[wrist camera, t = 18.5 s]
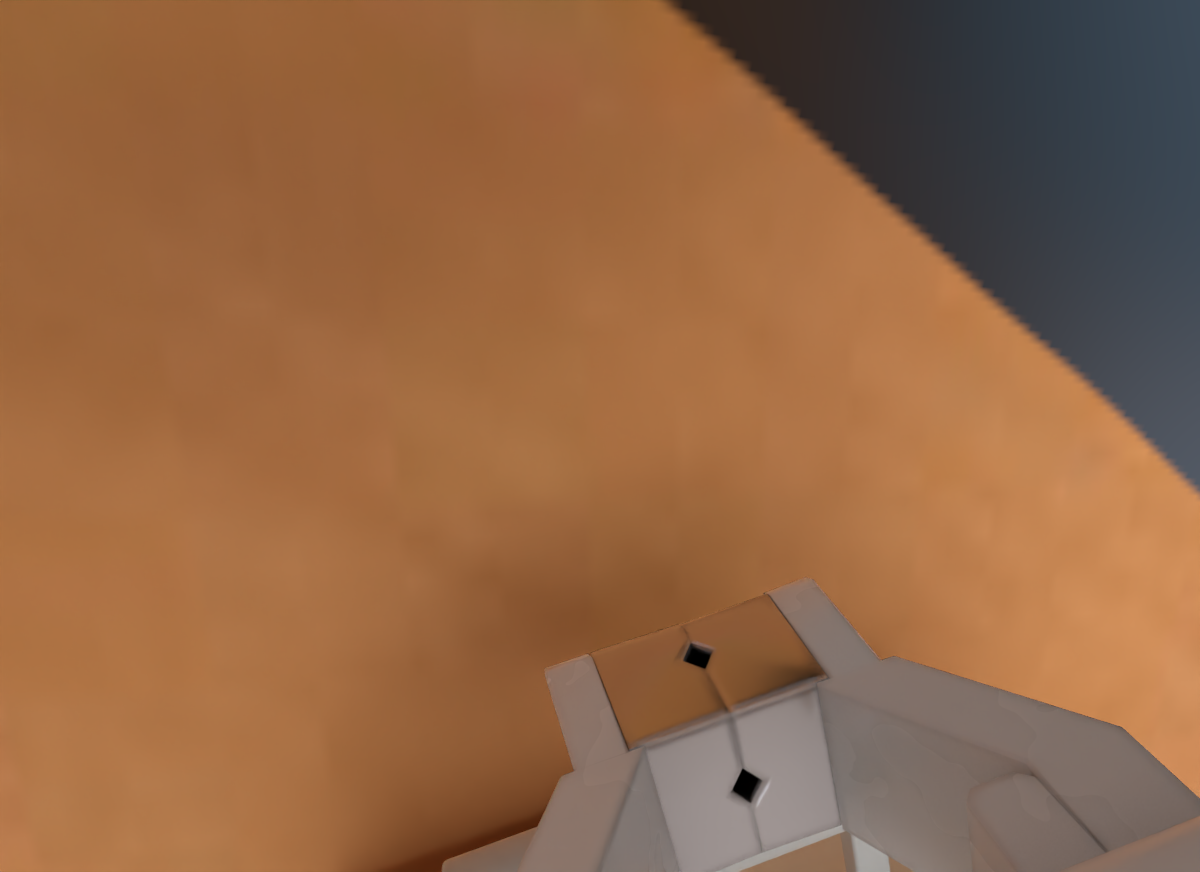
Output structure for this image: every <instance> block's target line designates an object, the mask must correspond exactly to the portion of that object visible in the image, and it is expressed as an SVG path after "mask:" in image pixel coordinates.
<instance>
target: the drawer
mask: <svg viewBox="0 0 1200 872" xmlns="http://www.w3.org/2000/svg"><path fill="white" fill-rule="evenodd" d="M536 829H537V827H535V828H532V829H530V830H527V831H524V832H521V833H519V834H516V835H513V836H510V837H508V838H505V839H502V840H499V841H497V842H494V843H491V844H488V845H486V846H483V847H480V848H477V849H475V850H472V851H469V852H466V853H464V854H461V855H458V856H455V857H453V858H450V859H447V860H445V861H444V862H443V864H442V872H517V870H518V868H519V866H520V864H521V862H522V859H523V857H524V855H525V853H526V851H527V848H528V846H529V844H530V842H531V840H532V838H533V835H534V833H535V831H536ZM716 872H914V871H912V870H911V869H909V868H907V867H906V866H904V865H902V864H900V863H899V862H897V861H895V860H894V859H892V858H890V857H889V856H887V855H885V854H884V853H882V852H880V851H879V850H877V849H875V848H874V847H872V846H870V845H869V844H867V843H865V842H864V841H862V840H860V839H858V838H857V837H855V836H853V835H852V834H850V833H848V832H847V831H845V830H843V828H842V825H841V826H838V827H835V828H832V829H829V830H826V831H823V832H820V833H818V834H815V835H812V836H809V837H806V838H803V839H800V840H797V841H795V842H792V843H789V844H786V845H783V846H780V847H777V848H774V849H772V850H769V851H766V852H763V853H760V854H758V855H755V856H753V857H750V858H748V859H746V860H743V861H741V862H738V863H736V864H733V865H731V866H729V867H726V868H724V869H721V870H719V871H716Z"/></svg>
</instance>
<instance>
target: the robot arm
mask: <svg viewBox="0 0 1200 872" xmlns="http://www.w3.org/2000/svg"><path fill="white" fill-rule="evenodd" d="M545 678H546V681H547V684H548V688H549V691H550V694H551V698H552V701H553V704H554V707H555V711H556V714H557V717H558V720H559V724H560V727H561V730H562V734H563V737H564V740H565V743H566V747H567V750H568V753H569V756H570V760H571V763H572V766H573V770H574V771H573V772H571V773H568V774H565V775H563V776H561V777H560V779H559V781H558V783H557V785H556V788H555V790H554V792H553V794H552V796H551V798H550V801H549V803H548V805H547V807H546V809H545V811H544V814H543V816H542V818H541V820H540V822H539V825H538V827H537V829H536V831H535V833H534V835H533V838H532V840H531V842H530V844H529V846H528V848H527V851H526V853H525V855H524V857H523V859H522V862H521V864H520V866H519V868H518V870H517V872H716V871H719V870H721V869H724V868H726V867H729V866H731V865H733V864H736V863H738V862H741V861H743V860H746V859H748V858H750V857H753V856H755V855H758V854H760V853H763V852H766V851H769V850H772V849H774V848H777V847H780V846H783V845H786V844H789V843H792V842H795V841H797V840H800V839H803V838H806V837H809V836H812V835H815V834H818V833H820V832H823V831H826V830H829V829H832V828H835V827H838V826H841V825H842V828H843V830H845V831H847V832H848V833H850V834H852V835H853V836H855V837H857V838H858V839H860V840H862V841H864V842H865V843H867V844H869V845H870V846H872V847H874V848H875V849H877V850H879V851H880V852H882V853H884V854H885V855H887V856H889V857H890V858H892V859H894V860H895V861H897V862H899V863H900V864H902V865H904V866H906V867H907V868H909V869H911V870H912V871H914V872H1200V798H1198V797H1197V796H1196V795H1195V794H1194V793H1193V792H1192V791H1191V790H1190V789H1189V788H1188V787H1186V786H1185V785H1184V784H1183V783H1182V782H1181V781H1180V780H1179V779H1178V778H1177V777H1176V776H1175V775H1173V774H1172V773H1171V772H1170V771H1169V770H1168V769H1167V768H1166V767H1165V766H1164V765H1163V764H1161V763H1160V762H1159V761H1158V760H1157V759H1156V758H1155V757H1154V756H1153V755H1152V754H1151V753H1150V752H1148V751H1147V750H1146V749H1145V748H1144V747H1143V746H1142V745H1141V744H1140V743H1139V742H1138V741H1136V740H1135V739H1134V738H1133V737H1132V736H1131V735H1130V734H1129V733H1128V732H1127V731H1126V730H1125V729H1123V728H1122V727H1120V726H1116V725H1113V724H1110V723H1107V722H1104V721H1100V720H1097V719H1094V718H1091V717H1088V716H1085V715H1081V714H1078V713H1075V712H1072V711H1069V710H1065V709H1062V708H1059V707H1056V706H1053V705H1049V704H1046V703H1043V702H1040V701H1037V700H1033V699H1030V698H1027V697H1024V696H1021V695H1018V694H1014V693H1011V692H1008V691H1005V690H1002V689H998V688H995V687H992V686H989V685H986V684H982V683H979V682H976V681H973V680H970V679H966V678H963V677H960V676H957V675H954V674H951V673H947V672H944V671H941V670H938V669H935V668H931V667H928V666H925V665H922V664H919V663H915V662H912V661H909V660H906V659H903V658H899V657H896V656H892V657H889V658H887V659H884V660H881V659H880V658H879V657H878V656H877V654H876V653H875V652H874V651H873V650H872V649H871V647H870V646H869V645H868V644H867V643H866V641H865V640H864V639H863V638H862V637H861V636H860V634H859V633H858V632H857V631H856V630H855V628H854V627H853V626H852V625H851V624H850V622H849V621H848V620H847V619H846V618H845V617H844V615H843V614H842V613H841V612H840V611H839V609H838V608H837V607H836V606H835V605H834V603H833V602H832V601H831V600H830V599H829V598H828V596H827V595H826V594H825V593H824V592H823V590H822V589H821V588H820V587H819V586H818V585H817V583H816V582H815V581H814V580H813V579H810V578H808V577H804V578H802V579H799V580H796V581H794V582H791V583H789V584H786V585H783V586H781V587H778V588H775V589H773V590H770V591H768V592H765V593H764V595H762V596H759V597H756V598H753V599H750V600H747V601H745V602H742V603H739V604H736V605H733V606H730V607H728V608H725V609H722V610H719V611H716V612H713V613H711V614H708V615H705V616H702V617H699V618H696V619H694V620H691V621H688V622H685V623H682V624H677V625H674V626H671V627H668V628H665V629H661V630H658V631H655V632H652V633H649V634H646V635H643V636H640V637H637V638H634V639H631V640H627V641H624V642H621V643H618V644H615V645H612V646H609V647H606V648H603V649H600V650H597V651H593V652H591V656H590V655H589V654H585V655H582V656H579V657H576V658H573V659H570V660H567V661H564V662H561V663H559V664H556V665H553V666H550V667H547V668H545Z"/></svg>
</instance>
